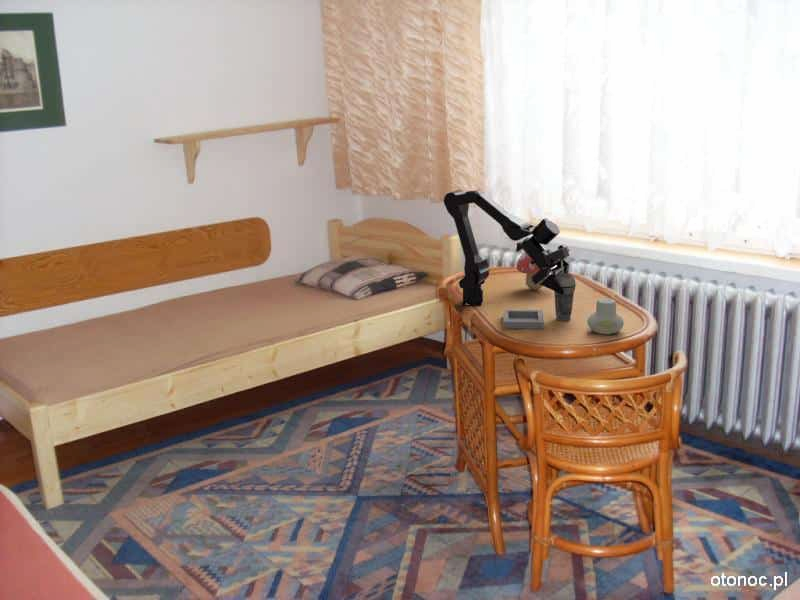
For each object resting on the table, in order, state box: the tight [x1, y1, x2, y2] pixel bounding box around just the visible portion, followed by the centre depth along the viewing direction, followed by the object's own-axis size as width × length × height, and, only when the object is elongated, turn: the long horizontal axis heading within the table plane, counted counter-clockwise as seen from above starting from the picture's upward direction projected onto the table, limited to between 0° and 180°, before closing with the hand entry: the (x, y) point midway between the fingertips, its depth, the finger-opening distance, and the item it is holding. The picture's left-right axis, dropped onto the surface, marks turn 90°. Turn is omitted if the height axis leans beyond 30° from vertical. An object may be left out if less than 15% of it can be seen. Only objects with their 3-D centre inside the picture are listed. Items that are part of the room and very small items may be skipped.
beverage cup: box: [553, 260, 577, 322], centre depth 282 cm, size 7×7×20 cm
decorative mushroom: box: [516, 252, 543, 291], centre depth 315 cm, size 13×13×15 cm
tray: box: [502, 309, 545, 331], centre depth 282 cm, size 13×13×2 cm
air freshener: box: [586, 297, 625, 335], centre depth 271 cm, size 11×8×10 cm
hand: (568, 290), depth 282 cm, fingers closed on beverage cup, 7 cm apart
